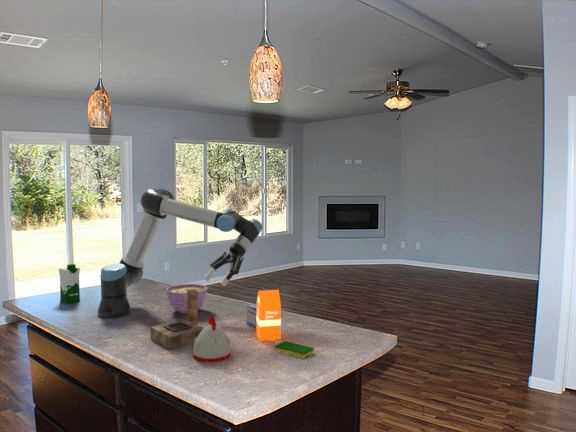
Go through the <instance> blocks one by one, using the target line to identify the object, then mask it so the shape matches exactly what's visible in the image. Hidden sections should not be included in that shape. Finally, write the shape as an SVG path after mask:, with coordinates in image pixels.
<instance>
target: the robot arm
mask: <svg viewBox="0 0 576 432" xmlns="http://www.w3.org/2000/svg"><path fill="white" fill-rule="evenodd" d="M140 205H141V208H142V210H143V213H144V215H143V217H142V219H141V220H140V221H141V222H140V224H139V226H138V228H137V230H136V233H135V236H134V237H133V240H132V242H131V245H130V246H129V249H128V251H127V253H126V255H124V256H122V257H121V259H120V261H119V263H111V264H108V265H105V266H104V267H102V268H101V270H100V276H99V277H100V292H101V293H100V296H101V297H100V302H99V305H98V309H97V316H98V317H100V318H105V319H110V318H121V317H125V316H128V315H130V314H131V313H132V307H131V305H130V301H129V300H128V293H127V292H128V289H127V288H129V287H132V286H133V285H135V284H137V283H138V282H139V281H141V280H142V277H143V274H144V267H145V264H144V259H145V257H146V255H147V253H148V250H149V248H150V245H151V243H152V242H153V239H154V237H155V234H156V233H157V230H158V228H159V226H160V224H161V222H162V221H164V220H165V219H166V218H167V216H170V217H174V218H179V219H181V220H186V221H189V222H193V223H197V224H200V225H203V226H208V227H212V228H215V229H217V230H219V231H221V232H224V233H226V232H227V233H228V232H231V231H232V230H234V231H236V232H237V233H239V235H238V236H237V237H236V239H235V240H234V241H233V243H232V244H231V245H230V247H229V252H226V251H224V252H222V254H221V255H219V256H218V257H217V258H216V259H215V260H214V261H212V262H211V263H210V264H209V265H210V269H209V270H208V272H207V273H206V275H205V276H204V277H203V279H204V280H205V281H206V282H209V281H210V280H211V278H212V277H213V276H214V274H215V273H216V272H217V269H219V268H221V267H222V266H224V265H227V264H230V266H229V267H230V268H229V270H228V271H227V273H226V274H225V275H224V277H223V278H222V279H221V281H220V283H219V284H220V285H222V287H223V288H224V287H226V286H227V284H228V282H229V281H230V280H231V279H232V277H233V276H235V275H239V272H240V269H241V266H242V263H243V262H244V261H243V260H244V259H245V258H244V255H245V254H246V252H247V251H248V250H249V249H250V247H251V245H252V244H253V243H254V242H255V240H256V239H257V238H258V236H259V235H260V233H261V232H262V230H263V224H262V223H261V222H260V221H259V220H258V219H255V218H251V219H250V220H248V219H246V218H245V217H244V216H242V215H241V214H239V213H238V212H237V211H236V210H233V209H232V208H228V209H226V211H224V212H219V211H216V210H213V209H209V208H205V207H203V206H202V207H201V206H198V205H194V204H190V203H187V202H183V201H179V200H176V198H175V195H174V194H173V192H171V190H169V189H166V188H164V187H163V188H152V189H151V188H150V189H147V190H146V191H144V192H143V193H142V195H141V197H140Z"/></svg>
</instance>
